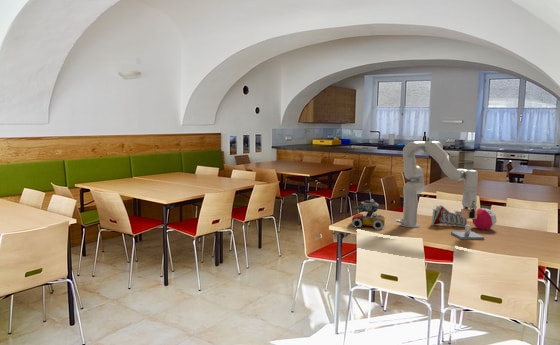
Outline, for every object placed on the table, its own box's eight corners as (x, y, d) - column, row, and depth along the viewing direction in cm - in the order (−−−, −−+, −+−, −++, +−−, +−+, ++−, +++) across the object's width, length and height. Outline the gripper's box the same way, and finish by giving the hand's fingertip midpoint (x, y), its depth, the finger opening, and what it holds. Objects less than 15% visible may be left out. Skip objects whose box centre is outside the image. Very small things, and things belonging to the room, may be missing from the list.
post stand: (461, 239, 269) (461, 227, 268) (450, 233, 283) (451, 222, 282) (484, 239, 270) (484, 227, 269) (472, 234, 284) (473, 222, 283)
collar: (466, 218, 271) (466, 211, 271) (460, 216, 278) (461, 209, 277) (476, 218, 271) (477, 211, 271) (471, 216, 278) (471, 209, 278)
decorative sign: (464, 229, 307) (468, 208, 305) (465, 230, 304) (469, 209, 302) (430, 224, 309) (434, 203, 307) (431, 225, 306) (435, 204, 304)
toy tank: (353, 222, 312) (354, 195, 310) (384, 224, 307) (386, 197, 304) (351, 227, 295) (352, 199, 292) (383, 230, 289) (385, 201, 287)
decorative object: (468, 207, 300) (486, 202, 303) (466, 225, 307) (483, 219, 310) (484, 218, 287) (502, 212, 291) (481, 236, 294) (499, 230, 298)
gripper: (458, 187, 281) (456, 214, 283) (471, 191, 264) (469, 219, 266) (469, 187, 282) (467, 214, 284) (483, 191, 264) (481, 219, 266)
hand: (468, 216), depth 275 cm, fingers closed on collar, 7 cm apart
